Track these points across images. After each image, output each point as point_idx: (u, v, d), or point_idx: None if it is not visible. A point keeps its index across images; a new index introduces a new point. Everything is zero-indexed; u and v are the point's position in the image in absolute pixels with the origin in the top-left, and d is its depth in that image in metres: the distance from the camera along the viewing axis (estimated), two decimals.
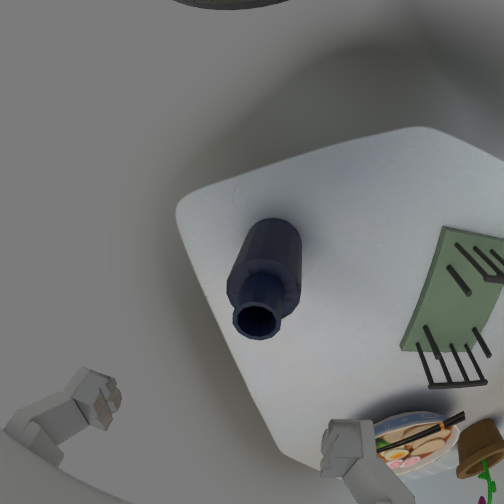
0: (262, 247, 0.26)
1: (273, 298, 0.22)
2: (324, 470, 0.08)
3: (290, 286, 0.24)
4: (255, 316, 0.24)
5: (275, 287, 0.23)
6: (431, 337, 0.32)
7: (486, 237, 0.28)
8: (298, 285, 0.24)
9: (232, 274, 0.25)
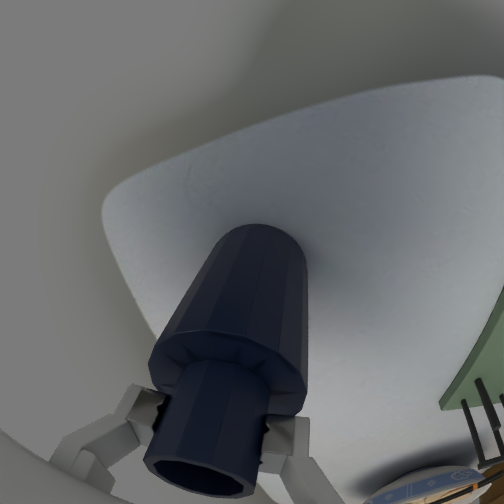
0: (222, 294, 0.11)
1: (237, 438, 0.07)
2: None
3: (283, 385, 0.10)
4: None
5: (245, 400, 0.09)
6: (487, 398, 0.17)
7: None
8: (301, 383, 0.10)
9: (155, 354, 0.10)
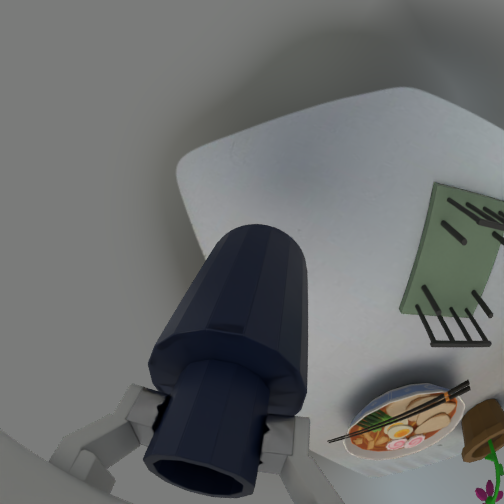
0: (222, 294, 0.11)
1: (236, 437, 0.07)
2: None
3: (283, 384, 0.10)
4: None
5: (244, 399, 0.09)
6: (430, 295, 0.33)
7: (478, 194, 0.29)
8: (301, 383, 0.10)
9: (155, 354, 0.10)
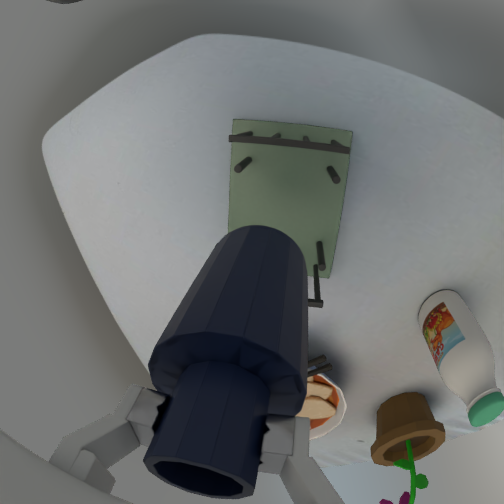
0: (222, 295, 0.11)
1: (236, 439, 0.07)
2: None
3: (283, 386, 0.10)
4: None
5: (244, 401, 0.09)
6: None
7: None
8: (301, 384, 0.10)
9: (155, 355, 0.10)
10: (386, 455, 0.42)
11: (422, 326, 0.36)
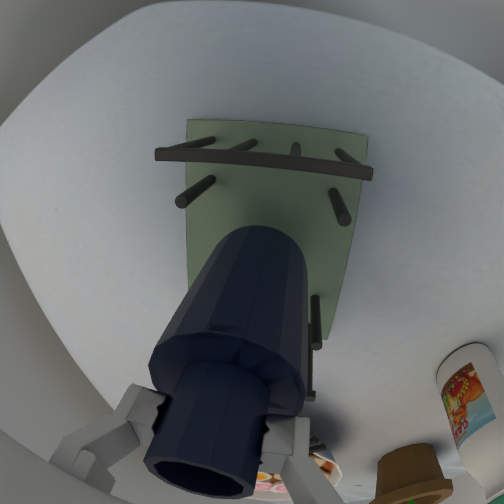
0: (222, 295, 0.11)
1: (237, 439, 0.07)
2: None
3: (283, 386, 0.10)
4: None
5: (245, 401, 0.09)
6: None
7: (277, 123, 0.20)
8: (301, 385, 0.10)
9: (155, 355, 0.10)
10: None
11: (441, 389, 0.26)
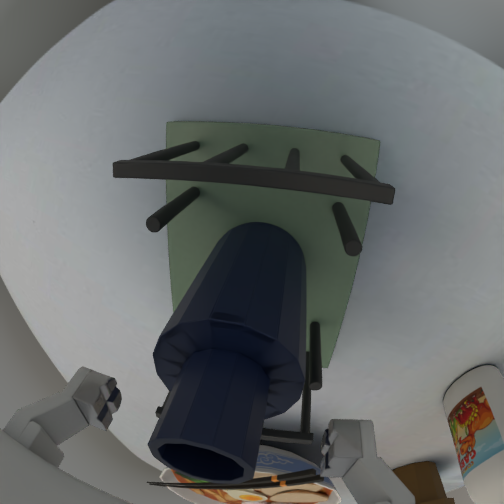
0: (224, 287, 0.12)
1: (238, 422, 0.08)
2: (324, 470, 0.08)
3: (282, 373, 0.11)
4: None
5: (245, 386, 0.09)
6: None
7: (272, 125, 0.17)
8: (299, 372, 0.11)
9: (160, 344, 0.11)
10: None
11: (448, 414, 0.23)
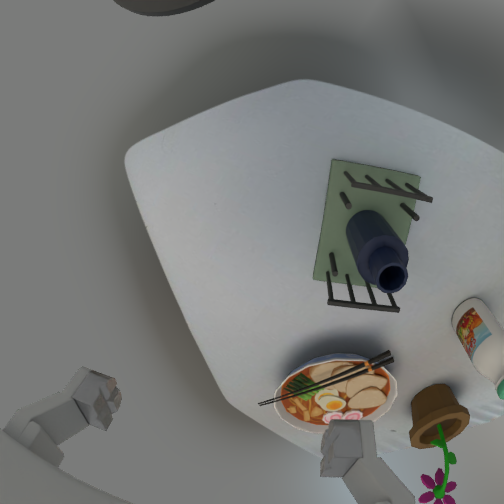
0: (380, 228, 0.32)
1: (401, 261, 0.28)
2: (324, 470, 0.08)
3: (402, 256, 0.31)
4: (380, 278, 0.31)
5: (397, 255, 0.30)
6: (332, 260, 0.41)
7: (379, 167, 0.37)
8: (407, 255, 0.31)
9: (364, 247, 0.31)
10: (421, 438, 0.48)
11: (456, 326, 0.43)
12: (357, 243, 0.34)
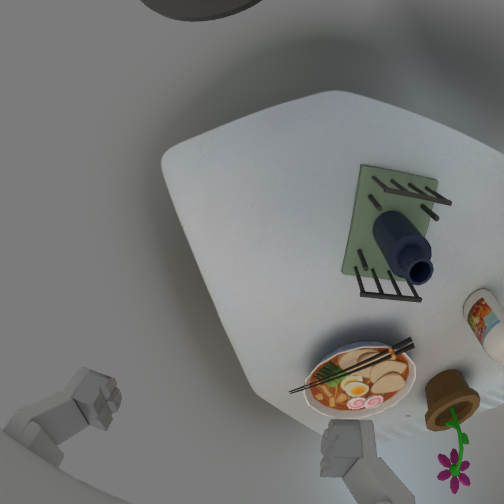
0: (407, 228, 0.36)
1: (427, 257, 0.32)
2: (324, 470, 0.08)
3: (426, 252, 0.34)
4: None
5: (423, 252, 0.33)
6: (362, 256, 0.44)
7: (402, 172, 0.40)
8: (430, 252, 0.34)
9: (395, 245, 0.35)
10: (435, 421, 0.52)
11: (467, 315, 0.46)
12: (387, 241, 0.37)
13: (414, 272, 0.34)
